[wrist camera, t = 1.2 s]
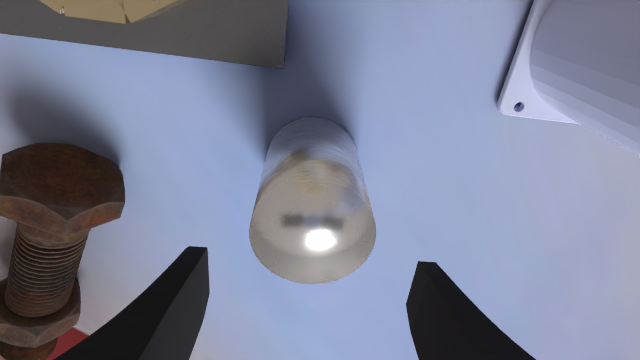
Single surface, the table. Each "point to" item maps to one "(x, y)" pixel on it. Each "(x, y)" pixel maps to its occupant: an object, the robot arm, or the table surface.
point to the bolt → (50, 239)
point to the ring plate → (160, 26)
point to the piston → (312, 205)
